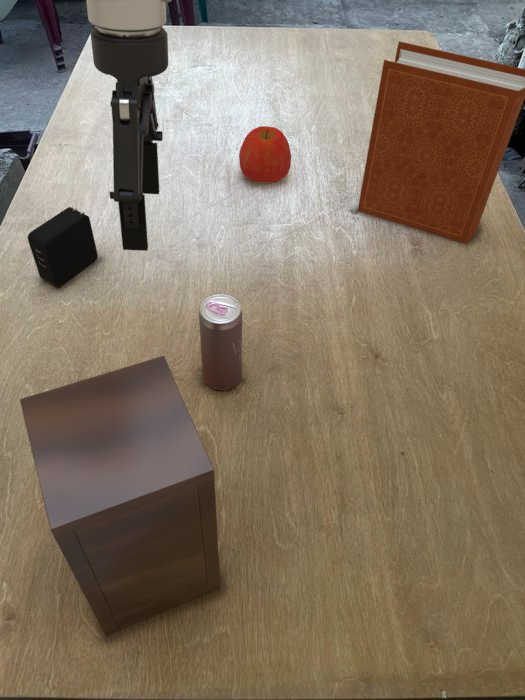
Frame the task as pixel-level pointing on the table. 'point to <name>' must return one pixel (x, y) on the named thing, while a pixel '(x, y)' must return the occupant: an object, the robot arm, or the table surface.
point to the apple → (265, 155)
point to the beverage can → (221, 341)
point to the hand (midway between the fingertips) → (142, 218)
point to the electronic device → (63, 246)
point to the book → (439, 139)
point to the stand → (127, 491)
